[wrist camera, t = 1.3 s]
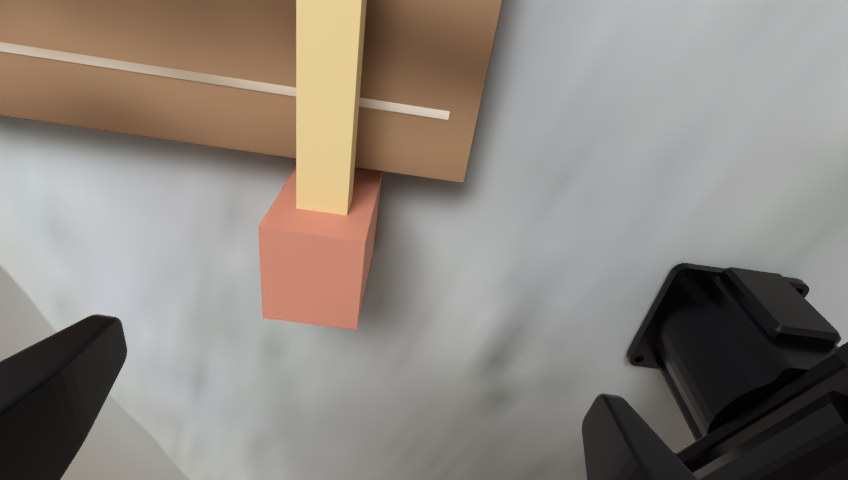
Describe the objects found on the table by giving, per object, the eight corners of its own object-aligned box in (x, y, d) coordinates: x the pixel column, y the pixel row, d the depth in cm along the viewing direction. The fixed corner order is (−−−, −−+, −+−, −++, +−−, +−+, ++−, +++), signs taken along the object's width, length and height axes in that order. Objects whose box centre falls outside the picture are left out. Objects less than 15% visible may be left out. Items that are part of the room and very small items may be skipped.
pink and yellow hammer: (373, 248, 22) (356, 329, 18) (299, 238, 22) (263, 318, 18) (409, -80, 15) (395, -86, 11) (301, -99, 15) (241, -113, 11)
